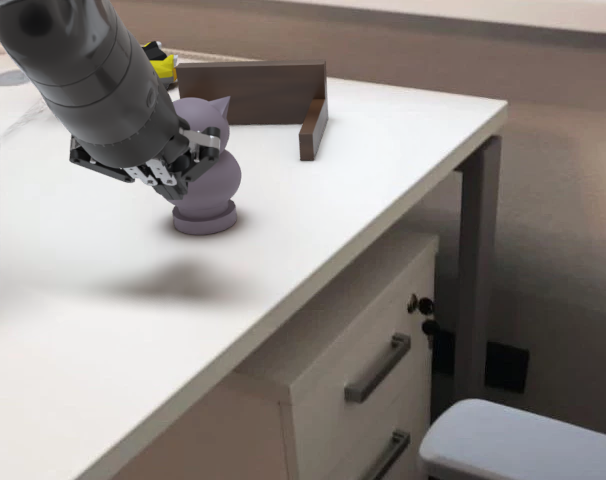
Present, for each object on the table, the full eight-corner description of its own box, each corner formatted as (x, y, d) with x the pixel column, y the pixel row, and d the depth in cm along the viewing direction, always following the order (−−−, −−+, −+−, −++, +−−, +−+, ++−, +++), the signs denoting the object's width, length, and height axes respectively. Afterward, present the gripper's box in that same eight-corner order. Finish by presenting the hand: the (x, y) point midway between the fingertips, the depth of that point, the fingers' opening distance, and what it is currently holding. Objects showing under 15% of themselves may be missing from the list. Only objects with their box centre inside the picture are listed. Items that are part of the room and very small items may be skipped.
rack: (314, 160, 100) (310, 96, 95) (158, 161, 102) (148, 99, 98) (328, 118, 110) (325, 59, 106) (187, 120, 113) (179, 62, 109)
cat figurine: (150, 236, 87) (127, 112, 79) (178, 203, 93) (159, 84, 85) (233, 240, 85) (217, 113, 77) (255, 206, 91) (243, 85, 83)
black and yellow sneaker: (120, 103, 120) (189, 90, 123) (112, 61, 117) (184, 48, 119) (93, 76, 131) (158, 64, 134) (85, 36, 127) (152, 25, 130)
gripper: (200, 37, 61) (250, 148, 78) (20, 43, 63) (108, 150, 80) (193, 141, 60) (246, 230, 77) (11, 144, 62) (102, 230, 79)
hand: (175, 189), depth 79 cm, fingers closed
